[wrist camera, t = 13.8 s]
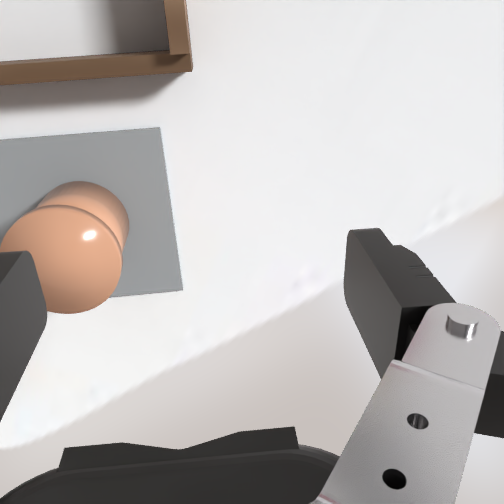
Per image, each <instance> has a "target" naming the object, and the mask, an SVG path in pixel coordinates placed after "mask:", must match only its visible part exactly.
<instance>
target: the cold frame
mask: <svg viewBox="0 0 504 504" xmlns="http://www.w3.org/2000/svg"><path fill="white" fill-rule="evenodd" d="M164 7H165V15H166V23H167V31H168V39H169V47H170V50H163V51H148V52H134V53H119V54H104V55H90V56H75V57H61V58H46V59H31V60H17V61H2V62H0V85H11V84H25V83H39V82H53V81H67V80H81V79H96V78H110V77H124V76H138V75H152V74H166V73H180V72H192V69H193V62H192V53H191V43H190V34H189V24H188V15H187V5H186V0H164Z"/></svg>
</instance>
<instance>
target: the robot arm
mask: <svg viewBox="0 0 504 504" xmlns="http://www.w3.org/2000/svg"><path fill="white" fill-rule="evenodd" d="M344 295H345V300H346V304H347V306H348V308H349V311H350V313H351V315H352V317H353V319H354V321H355V324H356V326H357V328H358V330H359V332H360V334H361V337H362V339H363V341H364V343H365V345H366V347H367V349H368V352H369V354H370V356H371V358H372V360H373V362H374V365H375V367H376V369H377V371H378V373H379V375H380V378H381V381H380V383H379V385H378V387H377V389H376V391H375V393H374V394H373V396H372V398H371V400H370V402H369V404H368V406H367V407H366V410H365V411H364V413H363V415H362V417H361V419H360V420H359V422H358V424H357V426H356V428H355V430H354V432H353V433H352V435H351V437H350V439H349V441H348V443H347V445H346V446H345V448H344V450H343V452H342V454H341V456H340V457H339V456H337V455H335V454H333V453H330V452H328V451H324V450H322V449H319V448H314V447H310V446H306V445H299V444H298V441H297V436H296V431H295V427H285V428H274V429H263V430H253V431H243V432H242V431H241V432H237V433H234V434H230V435H227V436H225V437H221V438H218V439H214V440H211V441H208V442H205V443H202V444H199V445H195V446H192V447H189V448H185V449H179V450H177V449H168V448H160V447H152V446H145V445H138V444H130V443H112V444H102V445H91V446H79V447H69V448H65V449H64V451H63V455H62V458H61V461H60V465H59V468H57V469H53V470H50V471H48V472H45V473H43V474H41V475H38V476H36V477H34V478H32V479H30V480H28V481H26V482H24V483H23V484H21V485H19V486H18V487H16V488H15V489H13V490H11V491H10V492H8V493H7V494H6V495H4V496H3V497H2V498H0V504H455V500H456V496H457V493H458V489H459V486H460V482H461V478H462V474H463V471H464V467H465V463H466V460H467V456H468V452H469V449H470V444H471V441H472V437H473V433H477V434H482V435H488V436H494V437H500V438H504V332H503V331H501V330H500V326H499V324H498V323H497V321H496V320H495V319H494V318H493V317H492V316H490V315H489V314H487V313H486V312H484V311H482V310H480V309H478V308H475V307H472V306H469V305H465V304H459V303H456V302H455V300H454V299H453V298H452V297H451V296H450V294H449V293H448V292H447V291H446V290H445V288H444V287H443V286H442V285H441V284H440V282H439V281H438V280H437V279H436V277H433V274H432V273H431V271H430V270H429V269H428V268H426V266H425V264H424V263H423V262H422V260H421V259H420V258H419V257H418V256H417V255H416V254H415V253H413V252H412V251H410V250H408V249H407V248H405V247H403V246H401V245H394V246H393V245H392V244H391V242H390V241H389V240H388V239H387V237H386V236H385V235H384V233H383V232H382V231H381V229H379V228H371V229H356V230H350V231H349V233H348V236H347V246H346V259H345V272H344ZM46 321H47V307H46V302H45V298H44V295H43V291H42V288H41V284H40V281H39V277H38V274H37V270H36V266H35V263H34V260H33V257H32V255H31V253H30V252H29V251H11V252H0V421H1V419H2V417H3V415H4V413H5V411H6V409H7V406H8V404H9V402H10V400H11V398H12V396H13V394H14V392H15V390H16V387H17V385H18V383H19V381H20V379H21V377H22V375H23V373H24V371H25V369H26V366H27V364H28V362H29V360H30V358H31V356H32V354H33V352H34V350H35V347H36V345H37V343H38V341H39V339H40V337H41V335H42V333H43V331H44V328H45V326H46Z"/></svg>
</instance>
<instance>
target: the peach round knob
mask: <svg viewBox="0 0 504 504" xmlns="http://www.w3.org/2000/svg"><path fill="white" fill-rule="evenodd" d="M128 234H129V218H128V214H127V212H126V209H125V207H124V206H123V204H122V203H121V201H120V200H119V199H118V198H117V197H116V196H115V195H114V194H113V193H112V192H110V191H109V190H107V189H106V188H104V187H102V186H100V185H97V184H94V183H91V182H85V181H73V182H67V183H64V184H61V185H59V186H57V187H55V188H54V189H52V190H51V191H50V192H49V193H48V194H47V195H46V196H45V197H44V198H43V200H42V201H41V202H40V203H39V204H38V205H37V207H36V208H35V209H33V210H31V211H29V212H27V213H26V214H24V215H23V216H21V217H20V218H19V219H18V220H17V221H16V222H15V223H14V224H13V226H12V227H11V228H10V229H9V230H8V231H7V233H6V234H5V236H4V238H3V240H2V243H1V246H0V252H11V251H29V252H30V253H31V255H32V257H33V260H34V263H35V266H36V270H37V274H38V277H39V281H40V284H41V288H42V291H43V295H44V298H45V302H46V307H47V311H50V312H54V313H63V314H72V313H80V312H84V311H88V310H90V309H93V308H95V307H97V306H99V305H100V304H102V303H103V302H104V301H106V300H107V299H108V298H109V297H110V296H111V294H112V293H113V292H114V290H115V288H116V286H117V284H118V281H119V278H120V275H121V272H122V267H123V255H122V252H123V249H124V246H125V243H126V240H127V237H128Z"/></svg>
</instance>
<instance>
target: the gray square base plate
mask: <svg viewBox="0 0 504 504" xmlns="http://www.w3.org/2000/svg"><path fill="white" fill-rule="evenodd" d="M73 181H85V182H91V183H94V184H97V185H100V186H102V187H104V188H106V189H107V190H109V191H110V192H112V193H113V194H114V195H115V196H116V197H117V198H118V199H119V200H120V201H121V203H122V204H123V206H124V207H125V209H126V212H127V214H128V218H129V234H128V237H127V240H126V243H125V246H124V249H123V252H122V255H123V267H122V272H121V275H120V278H119V281H118V284H117V286H116V288H115V290H114V292H113V293H112V294H111V296H110V297H118V296H128V295H138V294H149V293H159V292H169V291H179V290H183V285H182V278H181V271H180V264H179V257H178V250H177V243H176V236H175V229H174V222H173V215H172V208H171V201H170V194H169V187H168V180H167V173H166V166H165V159H164V152H163V145H162V138H161V131H160V127H159V128H146V129H133V130H120V131H107V132H95V133H82V134H69V135H56V136H43V137H30V138H17V139H4V140H0V246H1V243H2V240H3V238H4V236H5V234H6V233H7V231H8V230H9V229H10V228H11V227H12V226H13V224H14V223H15V222H16V221H17V220H18V219H19V218H20V217H21V216H23V215H24V214H26V213H27V212H29V211H31V210H33V209H35V208H36V207H37V205H38V204H39V203H40V202H41V201H42V200H43V198H44V197H45V196H46V195H47V194H48V193H49V192H50V191H51V190H52V189H54V188H55V187H57V186H59V185H61V184H64V183H67V182H73Z"/></svg>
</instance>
